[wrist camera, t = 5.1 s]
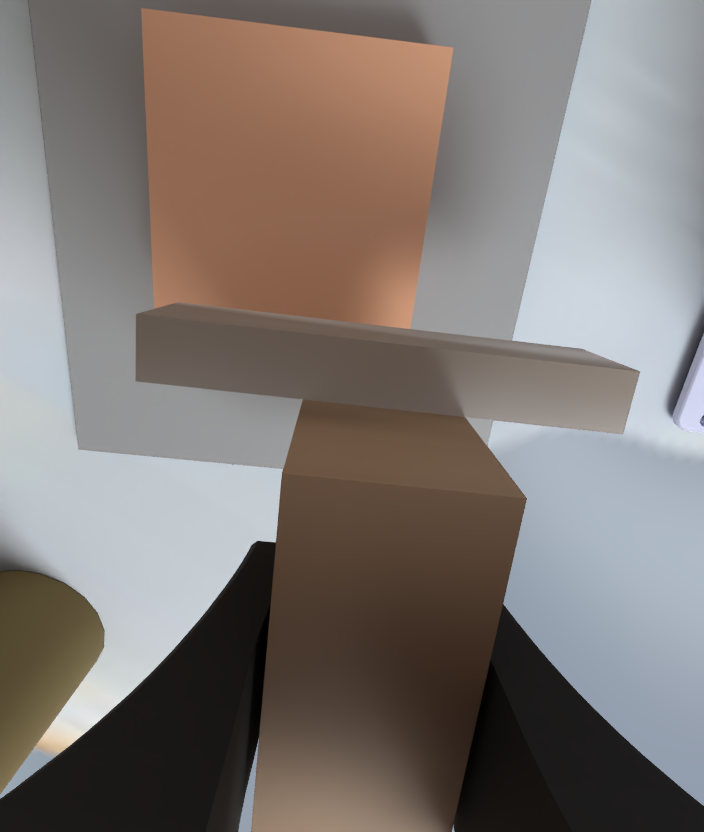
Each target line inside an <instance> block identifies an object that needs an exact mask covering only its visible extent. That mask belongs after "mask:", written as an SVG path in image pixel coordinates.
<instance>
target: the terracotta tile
mask: <svg viewBox="0 0 704 832" xmlns="http://www.w3.org/2000/svg"><path fill="white" fill-rule="evenodd" d="M141 15H142V39H143V62H144V86H145V109H146V132H147V156H148V179H149V203H150V226H151V249H152V273H153V296H154V309H155V308H159V307H162V306H166V305H169V304H173V303H176V302H181V303H190V304H199V305H207V306H216V307H224V308H233V309H242V310H250V311H259V312H268V313H276V314H285V315H293V316H302V317H311V318H319V319H328V320H337V321H345V322H354V323H362V324H371V325H380V326H388V327H397V328H406V329H410V328H411V322H412V315H413V309H414V302H415V296H416V289H417V283H418V276H419V270H420V263H421V257H422V250H423V243H424V237H425V230H426V224H427V217H428V211H429V204H430V198H431V191H432V185H433V178H434V172H435V165H436V159H437V152H438V146H439V139H440V133H441V126H442V120H443V113H444V107H445V100H446V94H447V87H448V81H449V74H450V68H451V61H452V55H453V47H445V46H437V45H429V44H421V43H414V42H406V41H398V40H390V39H382V38H374V37H366V36H358V35H350V34H342V33H334V32H327V31H319V30H311V29H303V28H295V27H287V26H279V25H271V24H263V23H255V22H247V21H239V20H232V19H224V18H216V17H208V16H200V15H192V14H184V13H176V12H168V11H160V10H152V9H145V8H141Z"/></svg>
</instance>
